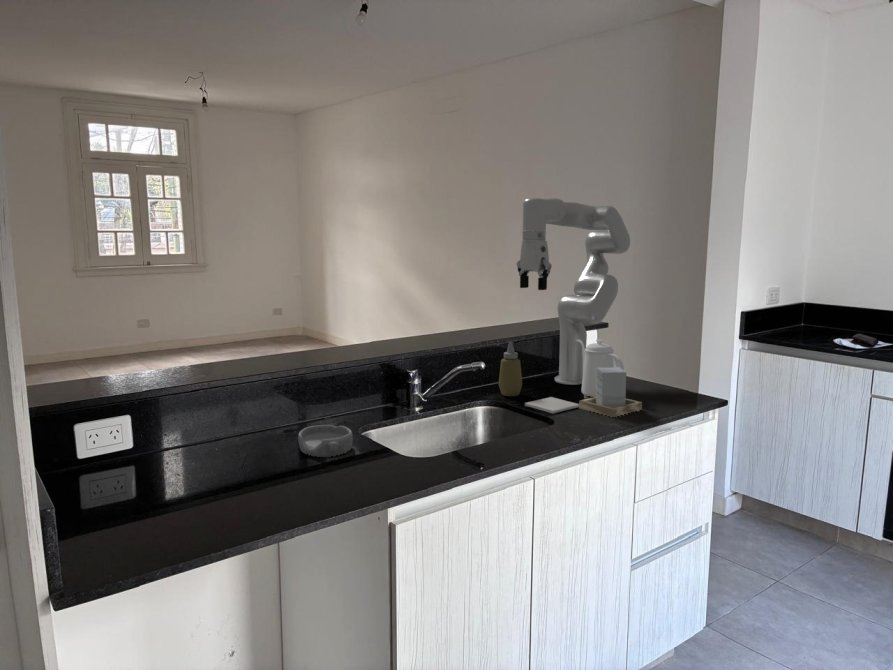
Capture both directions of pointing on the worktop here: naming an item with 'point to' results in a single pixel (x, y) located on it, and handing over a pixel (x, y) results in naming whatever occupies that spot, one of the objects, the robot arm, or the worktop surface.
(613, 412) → the wooden frame
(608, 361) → the coffeepot
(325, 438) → the dish
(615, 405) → the supplement box
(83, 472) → the worktop surface
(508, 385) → the squeeze bottle
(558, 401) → the tile
